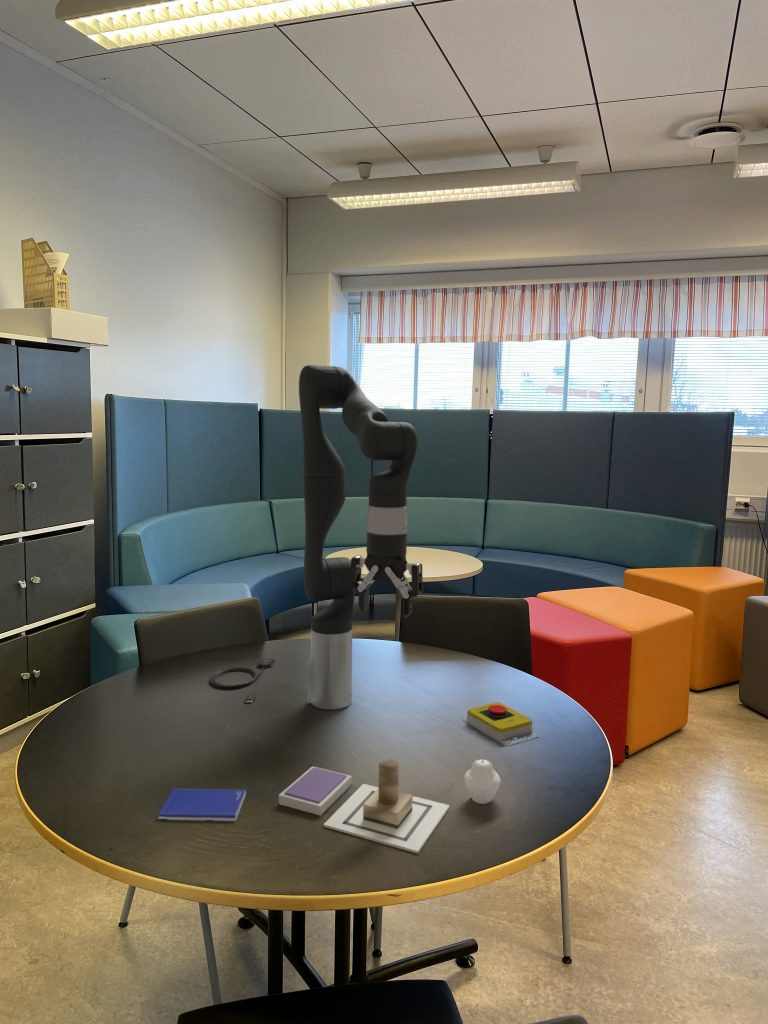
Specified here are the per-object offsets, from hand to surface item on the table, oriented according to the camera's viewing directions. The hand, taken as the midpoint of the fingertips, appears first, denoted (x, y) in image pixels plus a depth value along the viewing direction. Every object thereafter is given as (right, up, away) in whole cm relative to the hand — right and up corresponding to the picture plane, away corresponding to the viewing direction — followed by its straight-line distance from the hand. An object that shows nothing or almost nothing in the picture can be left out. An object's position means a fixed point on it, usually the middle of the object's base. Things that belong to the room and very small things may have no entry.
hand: (384, 613), depth 135 cm
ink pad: (-12, -29, -13) cm, 34 cm away
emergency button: (+24, -27, +14) cm, 39 cm away
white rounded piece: (+16, -30, -14) cm, 37 cm away
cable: (-36, -23, +39) cm, 58 cm away
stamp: (0, -30, -20) cm, 36 cm away
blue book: (-30, -30, -18) cm, 46 cm away
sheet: (+1, -30, -20) cm, 36 cm away
